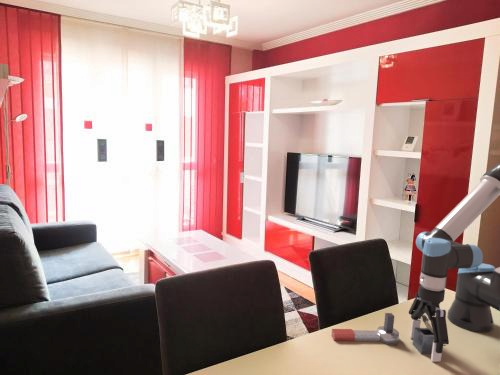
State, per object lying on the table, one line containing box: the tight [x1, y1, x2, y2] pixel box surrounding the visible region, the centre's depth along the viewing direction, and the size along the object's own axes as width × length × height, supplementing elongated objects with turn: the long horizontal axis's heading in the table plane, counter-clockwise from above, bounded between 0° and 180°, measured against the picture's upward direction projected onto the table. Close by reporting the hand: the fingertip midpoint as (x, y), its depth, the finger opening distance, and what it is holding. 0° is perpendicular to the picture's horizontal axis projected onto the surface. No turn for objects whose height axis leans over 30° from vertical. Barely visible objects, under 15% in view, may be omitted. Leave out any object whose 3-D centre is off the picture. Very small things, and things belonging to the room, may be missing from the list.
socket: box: [412, 327, 435, 355], centre depth 122 cm, size 5×5×6 cm
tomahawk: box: [421, 314, 447, 347], centre depth 135 cm, size 21×7×1 cm, turn 166°
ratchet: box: [330, 312, 400, 345], centre depth 127 cm, size 22×7×9 cm, turn 93°
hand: (424, 348), depth 122 cm, fingers open, 13 cm apart
